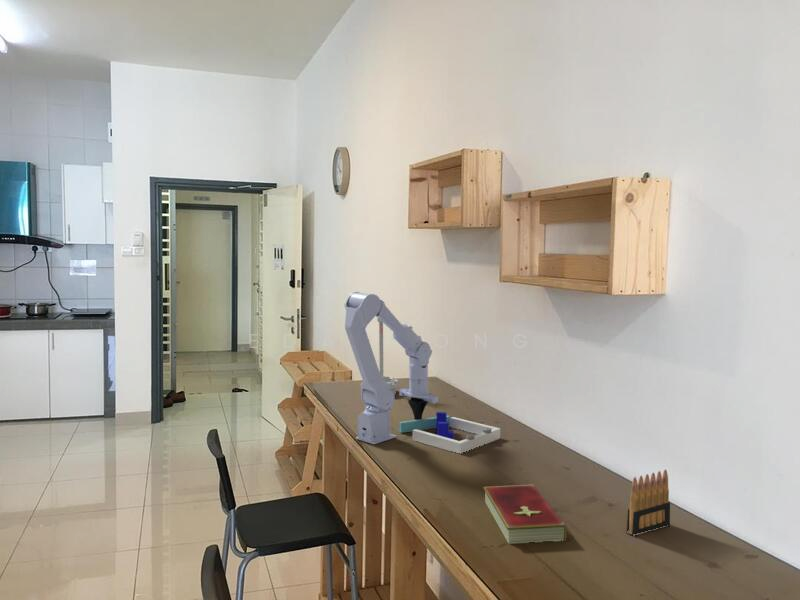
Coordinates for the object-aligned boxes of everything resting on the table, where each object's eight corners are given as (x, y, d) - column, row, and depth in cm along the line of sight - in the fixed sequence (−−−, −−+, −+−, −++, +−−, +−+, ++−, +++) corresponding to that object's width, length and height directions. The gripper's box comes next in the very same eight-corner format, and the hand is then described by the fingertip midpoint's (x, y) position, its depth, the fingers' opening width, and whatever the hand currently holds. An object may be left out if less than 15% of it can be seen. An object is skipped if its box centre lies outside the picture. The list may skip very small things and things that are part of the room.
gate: (401, 432, 200) (401, 423, 200) (399, 431, 201) (399, 422, 201) (449, 425, 207) (449, 416, 207) (448, 424, 208) (448, 415, 208)
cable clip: (453, 443, 191) (453, 423, 190) (438, 443, 191) (438, 423, 190) (450, 430, 203) (450, 412, 202) (436, 431, 203) (436, 412, 202)
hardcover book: (534, 500, 151) (534, 483, 150) (566, 543, 130) (567, 523, 130) (483, 503, 150) (483, 485, 149) (507, 547, 129) (507, 526, 128)
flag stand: (363, 389, 256) (362, 313, 253) (396, 388, 257) (396, 313, 254) (365, 398, 243) (364, 318, 240) (400, 397, 244) (399, 317, 241)
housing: (461, 454, 181) (461, 441, 180) (412, 440, 194) (412, 427, 193) (501, 438, 195) (501, 426, 194) (453, 426, 207) (453, 414, 207)
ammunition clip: (633, 536, 132) (635, 479, 131) (626, 533, 133) (627, 476, 132) (670, 525, 137) (672, 470, 136) (662, 522, 138) (665, 467, 137)
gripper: (444, 380, 201) (444, 423, 202) (409, 373, 211) (409, 414, 212) (429, 384, 196) (429, 428, 197) (394, 376, 206) (394, 419, 207)
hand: (418, 421), depth 204 cm, fingers closed, pressing on gate
